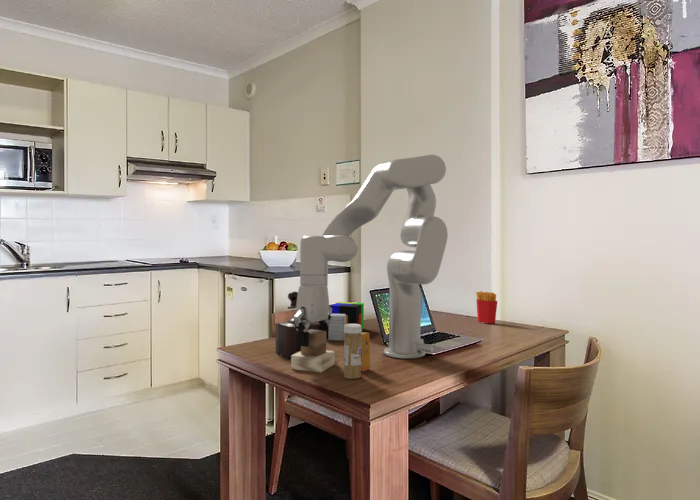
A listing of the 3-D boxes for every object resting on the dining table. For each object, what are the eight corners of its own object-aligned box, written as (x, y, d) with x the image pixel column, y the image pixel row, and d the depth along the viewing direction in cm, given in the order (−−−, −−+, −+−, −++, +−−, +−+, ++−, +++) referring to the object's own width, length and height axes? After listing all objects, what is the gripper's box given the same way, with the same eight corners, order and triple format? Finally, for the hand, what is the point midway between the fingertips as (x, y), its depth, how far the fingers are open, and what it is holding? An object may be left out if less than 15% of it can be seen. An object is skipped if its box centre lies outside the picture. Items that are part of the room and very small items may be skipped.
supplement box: (360, 367, 134) (360, 331, 134) (370, 369, 132) (370, 332, 132) (352, 369, 132) (353, 332, 131) (362, 372, 130) (363, 334, 129)
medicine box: (346, 338, 171) (346, 313, 171) (344, 341, 167) (344, 315, 166) (323, 337, 172) (323, 313, 172) (321, 340, 167) (321, 315, 167)
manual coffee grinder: (323, 354, 149) (324, 295, 148) (293, 360, 142) (293, 298, 141) (295, 344, 161) (295, 290, 160) (266, 349, 153) (266, 292, 153)
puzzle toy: (330, 332, 182) (330, 305, 181) (338, 327, 191) (339, 301, 191) (356, 334, 179) (356, 306, 178) (363, 328, 188) (363, 303, 188)
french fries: (498, 323, 201) (499, 292, 200) (492, 325, 198) (493, 293, 198) (479, 320, 208) (479, 290, 207) (473, 321, 205) (473, 291, 204)
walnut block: (326, 352, 136) (326, 331, 136) (316, 356, 131) (316, 334, 131) (311, 350, 138) (311, 329, 138) (301, 354, 134) (301, 332, 134)
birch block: (334, 365, 138) (334, 351, 137) (321, 373, 129) (321, 358, 129) (305, 362, 141) (305, 348, 141) (291, 370, 132) (291, 355, 132)
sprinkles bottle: (359, 379, 123) (360, 326, 122) (341, 378, 124) (342, 326, 123) (362, 374, 127) (362, 323, 127) (344, 373, 128) (345, 322, 128)
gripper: (319, 277, 143) (319, 335, 144) (283, 282, 128) (283, 347, 129) (341, 278, 140) (341, 338, 140) (307, 284, 125) (306, 350, 125)
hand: (313, 342), depth 135 cm, fingers open, 9 cm apart
